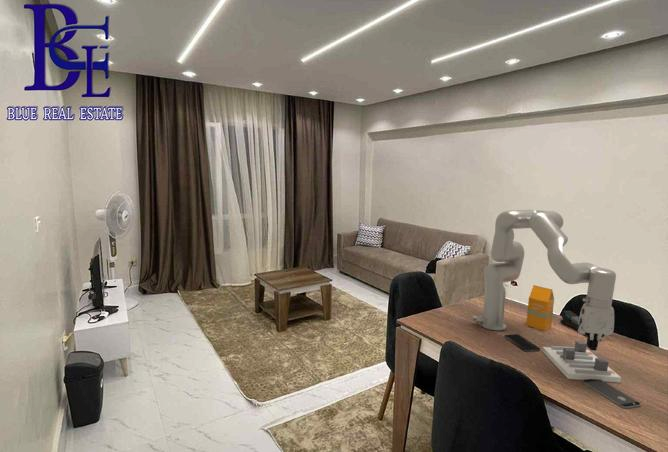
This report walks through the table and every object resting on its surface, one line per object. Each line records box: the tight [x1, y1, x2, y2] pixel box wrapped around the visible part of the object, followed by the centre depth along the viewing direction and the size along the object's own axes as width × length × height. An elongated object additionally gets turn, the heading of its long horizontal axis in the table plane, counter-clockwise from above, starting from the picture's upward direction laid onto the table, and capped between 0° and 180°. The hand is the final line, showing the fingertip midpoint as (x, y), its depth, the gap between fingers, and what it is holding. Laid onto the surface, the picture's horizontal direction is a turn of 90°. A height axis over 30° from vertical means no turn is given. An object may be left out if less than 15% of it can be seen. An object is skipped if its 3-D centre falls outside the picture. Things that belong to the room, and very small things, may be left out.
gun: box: [560, 310, 579, 331], centre depth 175 cm, size 4×20×10 cm, turn 12°
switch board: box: [541, 345, 622, 384], centre depth 143 cm, size 18×21×3 cm
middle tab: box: [562, 348, 575, 360], centre depth 143 cm, size 3×3×4 cm
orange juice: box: [526, 285, 555, 332], centre depth 179 cm, size 8×9×20 cm
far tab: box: [574, 340, 588, 352], centre depth 149 cm, size 3×3×4 cm
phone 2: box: [581, 379, 642, 410], centre depth 125 cm, size 8×1×16 cm
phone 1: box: [503, 333, 541, 353], centre depth 162 cm, size 8×1×15 cm
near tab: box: [594, 357, 609, 371], centre depth 135 cm, size 3×3×4 cm
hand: (591, 348), depth 135 cm, fingers closed
